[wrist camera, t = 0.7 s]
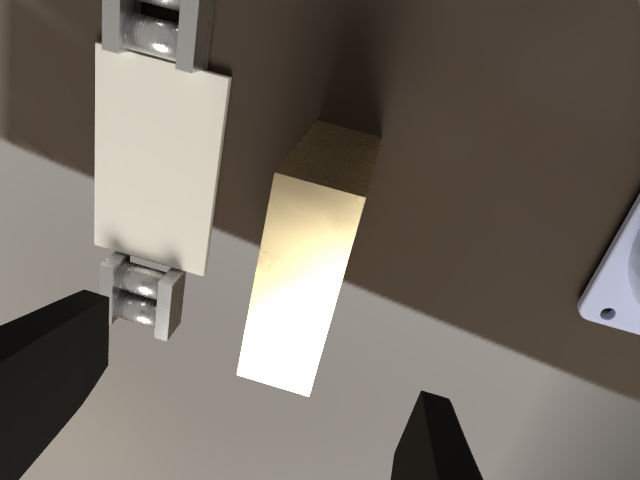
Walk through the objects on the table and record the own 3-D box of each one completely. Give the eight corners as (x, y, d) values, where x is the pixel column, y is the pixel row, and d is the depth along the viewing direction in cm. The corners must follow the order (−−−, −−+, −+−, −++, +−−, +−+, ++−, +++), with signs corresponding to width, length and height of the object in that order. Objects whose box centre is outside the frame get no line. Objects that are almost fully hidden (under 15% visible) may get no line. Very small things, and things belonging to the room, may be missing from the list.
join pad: (231, 77, 18) (229, 78, 18) (206, 273, 22) (203, 276, 21) (100, 42, 18) (95, 43, 18) (98, 241, 22) (94, 244, 22)
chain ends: (218, -26, 16) (201, -27, 15) (180, 322, 23) (166, 341, 22) (126, -49, 17) (102, -52, 15) (115, 303, 23) (98, 320, 22)
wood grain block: (382, 137, 18) (365, 198, 13) (336, 295, 21) (308, 396, 16) (317, 119, 18) (274, 172, 13) (282, 279, 21) (236, 374, 16)
